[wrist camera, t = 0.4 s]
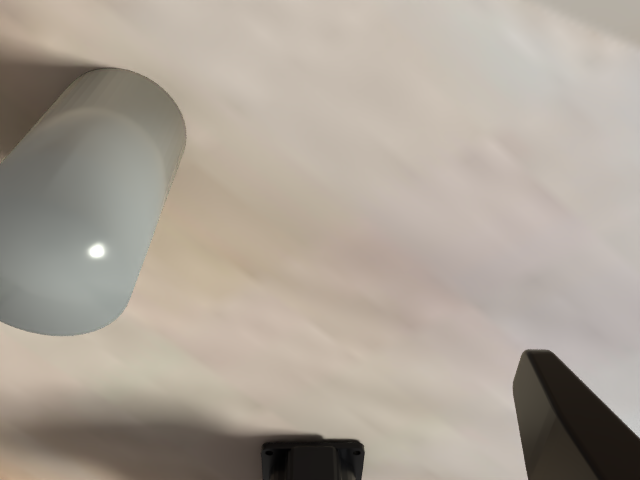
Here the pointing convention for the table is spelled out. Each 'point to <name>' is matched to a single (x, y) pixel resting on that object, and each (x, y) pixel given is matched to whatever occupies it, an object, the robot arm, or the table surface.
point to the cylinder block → (85, 202)
